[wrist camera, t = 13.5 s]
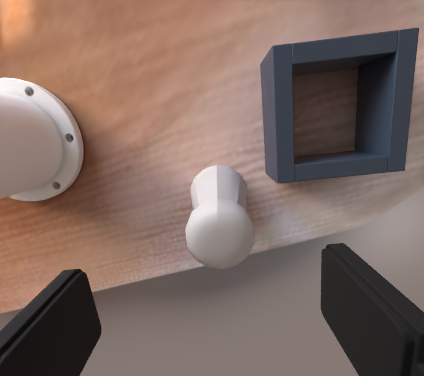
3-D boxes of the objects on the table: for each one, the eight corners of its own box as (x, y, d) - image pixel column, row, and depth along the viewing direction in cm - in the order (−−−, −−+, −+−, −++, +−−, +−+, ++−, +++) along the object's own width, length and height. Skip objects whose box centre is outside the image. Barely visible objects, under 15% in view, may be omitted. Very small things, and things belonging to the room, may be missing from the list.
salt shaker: (254, 180, 25) (292, 231, 13) (225, 220, 27) (233, 302, 14) (210, 151, 25) (205, 174, 12) (182, 193, 26) (151, 254, 13)
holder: (265, 173, 25) (277, 183, 20) (260, 63, 23) (272, 45, 18) (367, 162, 25) (405, 170, 20) (374, 49, 22) (419, 27, 17)
